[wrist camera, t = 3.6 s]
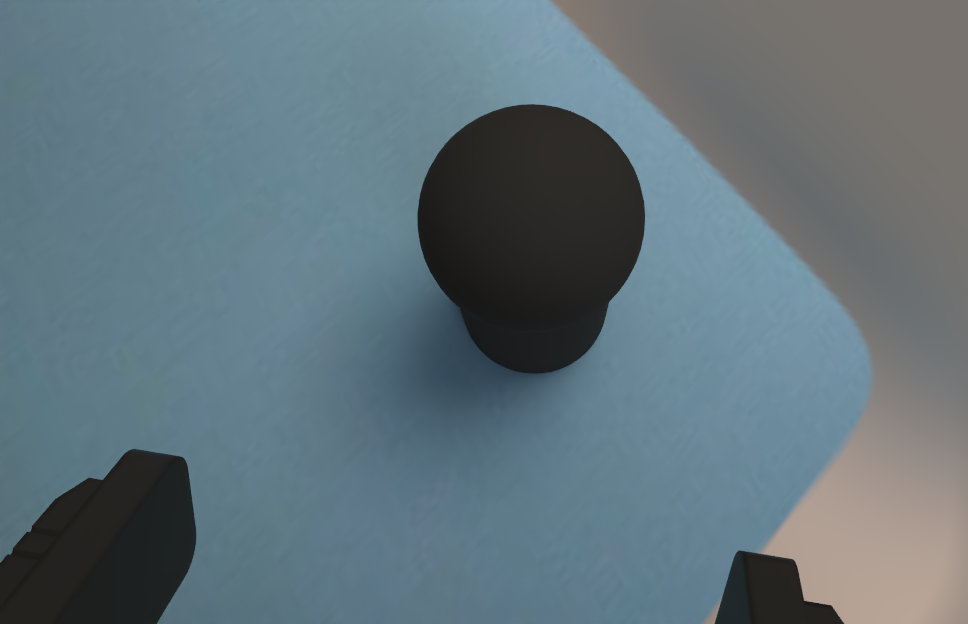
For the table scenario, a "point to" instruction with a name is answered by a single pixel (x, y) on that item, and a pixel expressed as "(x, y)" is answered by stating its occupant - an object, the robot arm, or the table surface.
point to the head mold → (531, 232)
